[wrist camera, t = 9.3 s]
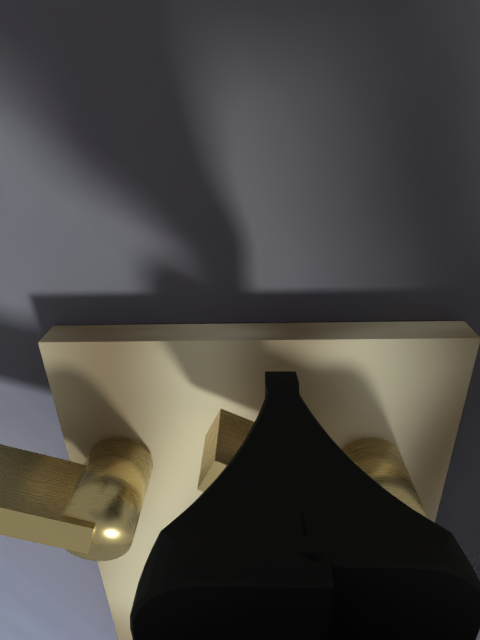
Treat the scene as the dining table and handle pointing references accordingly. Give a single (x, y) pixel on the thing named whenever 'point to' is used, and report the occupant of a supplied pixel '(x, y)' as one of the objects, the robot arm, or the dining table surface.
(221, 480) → the robot arm
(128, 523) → the knob
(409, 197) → the dining table surface
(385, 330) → the base
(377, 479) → the knob
